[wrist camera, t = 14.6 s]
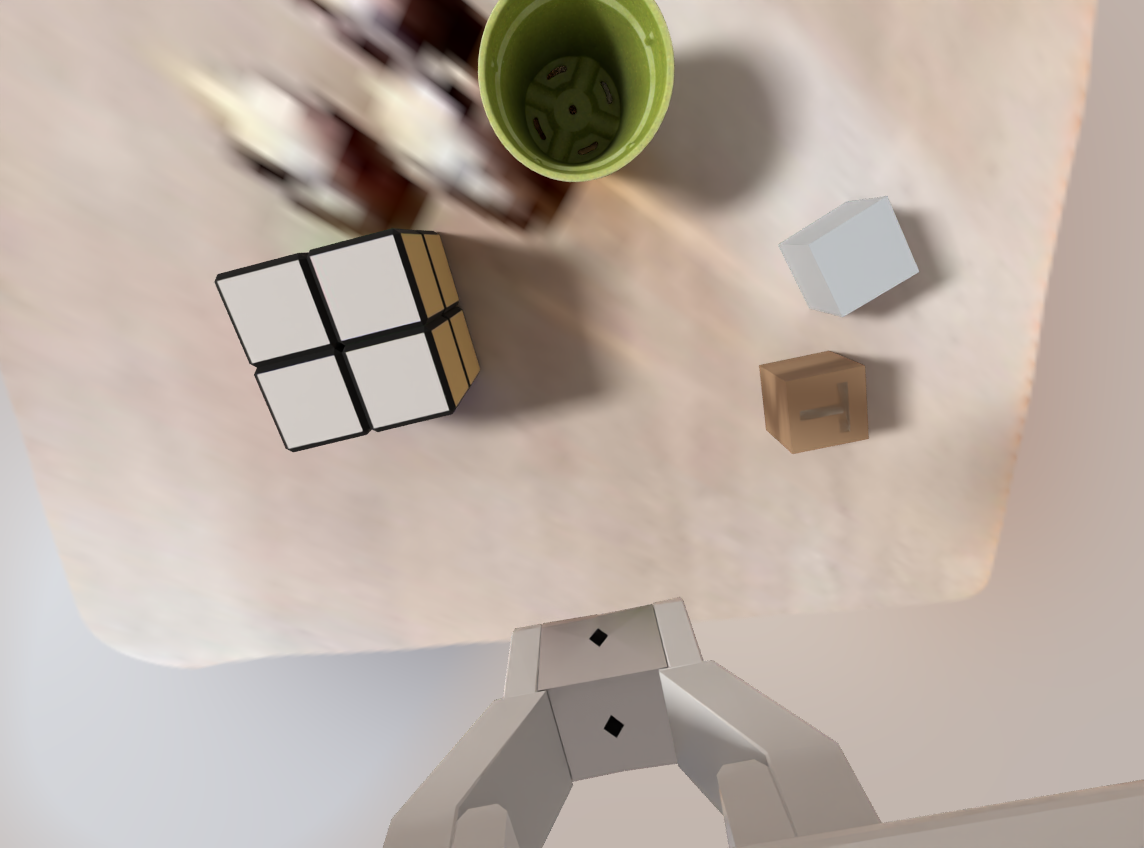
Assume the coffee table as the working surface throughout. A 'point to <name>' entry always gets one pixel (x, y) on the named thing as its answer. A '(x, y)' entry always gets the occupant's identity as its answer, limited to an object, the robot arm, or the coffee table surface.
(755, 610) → the coffee table surface
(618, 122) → the plant pot
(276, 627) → the coffee table surface
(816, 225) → the grey-blue block
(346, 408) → the puzzle cube
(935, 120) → the coffee table surface
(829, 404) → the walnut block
